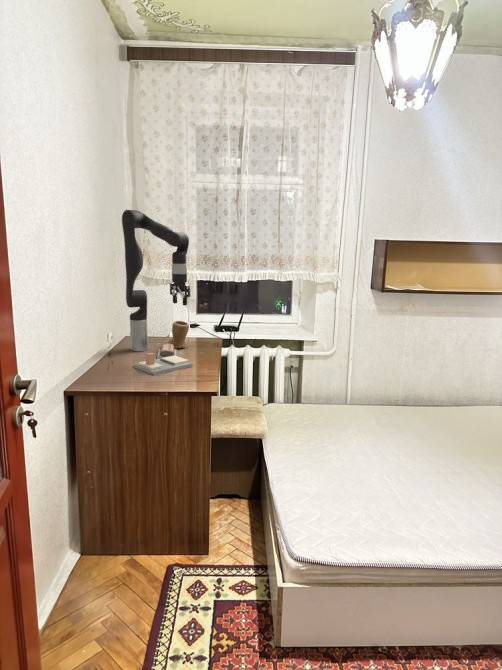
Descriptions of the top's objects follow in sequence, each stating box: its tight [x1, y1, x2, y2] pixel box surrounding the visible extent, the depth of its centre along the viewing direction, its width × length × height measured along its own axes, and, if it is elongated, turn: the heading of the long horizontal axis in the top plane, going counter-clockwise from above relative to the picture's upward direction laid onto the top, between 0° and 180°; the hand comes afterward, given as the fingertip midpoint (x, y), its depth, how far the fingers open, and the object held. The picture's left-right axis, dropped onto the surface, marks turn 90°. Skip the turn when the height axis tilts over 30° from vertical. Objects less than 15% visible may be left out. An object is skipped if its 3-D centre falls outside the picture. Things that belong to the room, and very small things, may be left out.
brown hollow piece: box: [167, 320, 190, 349], centre depth 255 cm, size 15×12×15 cm
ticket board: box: [132, 355, 193, 376], centre depth 215 cm, size 18×22×2 cm
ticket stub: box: [137, 352, 163, 370], centre depth 210 cm, size 12×6×6 cm, turn 45°
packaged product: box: [156, 343, 178, 359], centre depth 237 cm, size 18×5×10 cm
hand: (179, 304), depth 227 cm, fingers open, 8 cm apart
